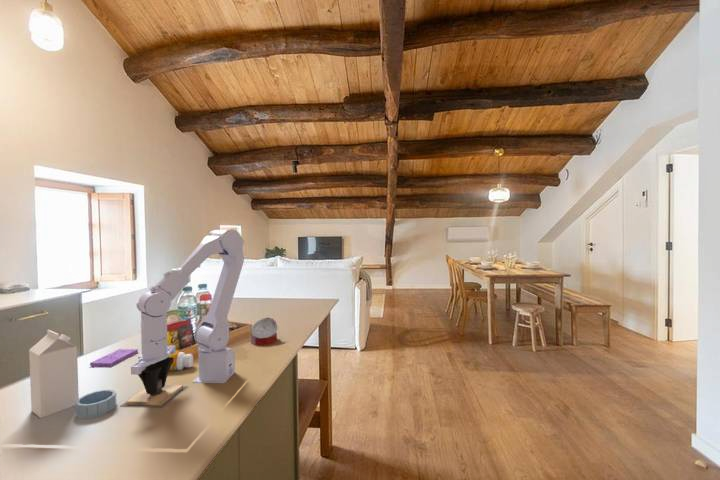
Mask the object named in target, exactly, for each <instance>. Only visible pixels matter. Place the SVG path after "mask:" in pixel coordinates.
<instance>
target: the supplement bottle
mask: <svg viewBox="0 0 720 480" xmlns="http://www.w3.org/2000/svg"><path fill="white" fill-rule="evenodd" d="M168 357H172V358H173V363H172V364H171V366H170V369H169V371H168V372H170V371H171V372H172V371H182V370H183V369H184V368H191V367H192V366H193V363H194V354H193V353H185V352H183V351H176V352H175V353H174V354H170V355H169V356H168Z"/></svg>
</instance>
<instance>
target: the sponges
mask: <svg viewBox="0 0 720 480" xmlns="http://www.w3.org/2000/svg"><path fill="white" fill-rule="evenodd" d="M138 350H139V348H131V349H130V348H124V349H123V348H118V349H116V350H114V351H113V352H111V353H108V354H106V355H103V356H101V357H99V358H97V359H95V360H94V361H91V362H89V366H91V367H92V368H93V367H95V368H96V367H102V368H103V367H114V366H115V365H117V364H118V363H120V362H122V361H125V360H126V359H128V358H130V357H132V356H133V355H136V354H137V353H139V351H138Z"/></svg>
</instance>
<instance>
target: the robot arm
mask: <svg viewBox="0 0 720 480" xmlns="http://www.w3.org/2000/svg"><path fill="white" fill-rule="evenodd" d="M244 242H245V240H244V239H243V237H242V235H241V234H240V232H239V231H238V230H236V229H233V228H232V229H214V230H211V231H210V232H209V234H208V235H206V236H204V237H203V239H202V241H201V242H200V243H199V244H198V246H197V247H196V248H195V249H194V250H193V251H192V252H191V254H189V256H188V257H187V258H186V259H185V261H183V262H182V263H181V265H180V266H179V267H177V268H171V269H170V270H169V271H168V270H165V272H163V274H162V275H163V277H162V278H161V279H160V280H159V281H158V282H157V283H156V284H155V285H154V286H151V287H149V290H150V291H147V292H145V293H143V294H142V295H141V296H140V297H139V299H138V302H137V303H136V308H137V310H138V311H139V312H140V333H141V334H140V335H141V337H140V338H141V339H140V340H141V343H140V344H141V354H139V355H138V356H137V361H136V362H135V363H134V364H132V365H131V366H130V375H137V376H138V377H139V378H140V381H141V382H142V384H143V387H144V389H145V390H146V392H147V394H155V393H156V391H157V381H158V378H161V379H162V388H163V387H164V386H165V385H166V383H167V378H168V375H169V372H170V371H169V369H170V366H171V364H172V363H173V358H172V357H168V356H169V355H170V354H174V353H175V352H177V351H176V348H177V347H176V345H168V320H167V318H168V317H167V312H168V311H169V310H170V309H171V306H172V301H173V300H175V298H176V297H177V296H178V295H179V294H180V293H181V292H182V290H183V289H185V288H186V286H187V285H188V284H189V283H190V275H191V274H192V273H193V272H195V270H197V268H199V266H201V265H202V264H203V263H204V262H205V261H206V260H207V259H208V258H210V256H212V255H217V254H218V255H219V256H220V258H221V259H222V261H223V265H222V267H221V272H220V273H219V274H220V275H219V277H218V278H219V279H218V282H217V284H216V286H215V287H216V288H215V290H214V294H213V297H212V300H211V303H210V306H209V309H208V312H207V313H206V315H204V316H203V317H202V319H201V321H200V324H199V325H198V326H197V327H196V328H195V330H194V335H193V338H194V340H195V342H196V343H198V348H197V349H198V350H197V351H198V354H197V356H198V376H197V377H196V378H195V379H194V380H192V383H195V384H196V383H197V384H202V383H203V384H205V383H206V384H208V383H209V384H225V383H226V382H227V381H228V380H229V379H231V377H232V376H234V374H235V373H236V368H235V367H236V366H235V365H236V364H235V361H236V359H235V349H233V348H232V347H231V348H230V347H227V345H228V342H229V340H230V333H229V332H230V326H231V323H230V321H229V318H228V314H229V313H230V309H231V305H232V302H233V298H234V295H235V292H236V290H237V289H236V288H237V286H238V283H239V282H238V281H239V279H240V275H241V272H242V269H243V265H244V263H245V262H244V261H245V257H244V256H245V255H244V250H243V246H244Z"/></svg>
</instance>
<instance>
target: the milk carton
mask: <svg viewBox="0 0 720 480" xmlns="http://www.w3.org/2000/svg"><path fill="white" fill-rule="evenodd" d="M46 332H47V333H46V335H44V337H42V338H41V339H39V341H38V342H37V343H35V344H34V345H33V346H31V348H30V349H29V350H28V355H29V358H28V359H29V378H30V379H29V380H30V385H29V386H30V406H31V408H30V409H31V410H30V411H31V412H33V414H35V415H36V416H37V417H38V418H40V419H43V418H44V417H47V416H49V415H52V414H56V413H58V412H60V411H64V410H66V409H70V408H73V407H74V406H75V402H76V401H77V399H79V398H80V397H79V395H80V394H79V370H78V369H79V367H78V365H79V363H78V347H77V346H76V345H74V344H73V343H71V342H69V341H70V340H71V337H70V336H68V335H66V334H63V333H61V334H60V335H59V333H57V332H55V331H53V330H50V329H47V330H46Z"/></svg>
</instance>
